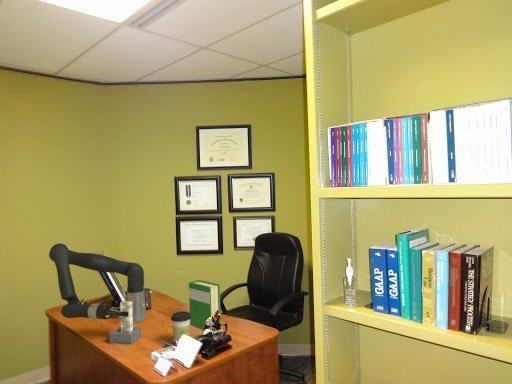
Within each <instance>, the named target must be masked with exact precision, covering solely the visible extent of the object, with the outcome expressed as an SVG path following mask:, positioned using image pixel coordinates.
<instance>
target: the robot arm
mask: <svg viewBox="0 0 512 384" xmlns="http://www.w3.org/2000/svg"><path fill="white" fill-rule="evenodd" d="M48 256H49V257H48V258H49V259H50V260H51V262H54V266H55V268H56V273H57V280H58V281H57V282H58V288H59V293H60V298H61V300H63V301H66V302H67V303H66V304H65V305H63V306H62V307H61V311H60V313H61V316H62V317H64V318H67V319H77V318H84V319H93V320H108V319H109V320H110V319H117V318H119V317H120V318H121V316H128V312H121V311H120V305H119V306H118V307H115V306H113V307H112V305H111V304H108V303H84V304H82V302H81V300H80V299H79V296H78V295H77V293H76V289H75V285H74V280H73V277H72V273H71V268H70V265H71V266H76V267H80V268H83V269H88V270H90V271H95V272H99V273H109V274H110V273H112V274H115V273H116V274H119V275H123V276H126V277H127V288H126V290H127V293H126V294H127V297H126V298H127V301H132V310H133V324H134V323H139V322H142V321H145V320H146V319H147V317H146V303H145V295H144V294H145V293H144V292H145V289H144V288H145V272H144V268H143V267H142V265H141V264H139V263H136V262H129V261H122V260H119V259H116V258H113V257H110V256H106V255H103V254H99V253H95V252H94V253H93V252H91V253H90V252H78V251H74V250H70V249H69V248H68V246H67V245H66V244H64V243H56V244H54V245H52V247H51V248H50V250H49V253H48Z"/></svg>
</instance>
